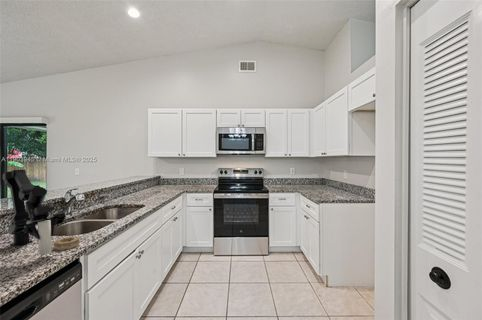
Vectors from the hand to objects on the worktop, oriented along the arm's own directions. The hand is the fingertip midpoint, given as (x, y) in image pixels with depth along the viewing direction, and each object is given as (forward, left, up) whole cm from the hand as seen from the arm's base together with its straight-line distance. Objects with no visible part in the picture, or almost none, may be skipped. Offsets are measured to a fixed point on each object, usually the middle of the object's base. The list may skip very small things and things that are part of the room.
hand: (45, 237), depth 109 cm
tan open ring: (-4, +13, -9) cm, 17 cm away
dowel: (-1, 0, -7) cm, 7 cm away
